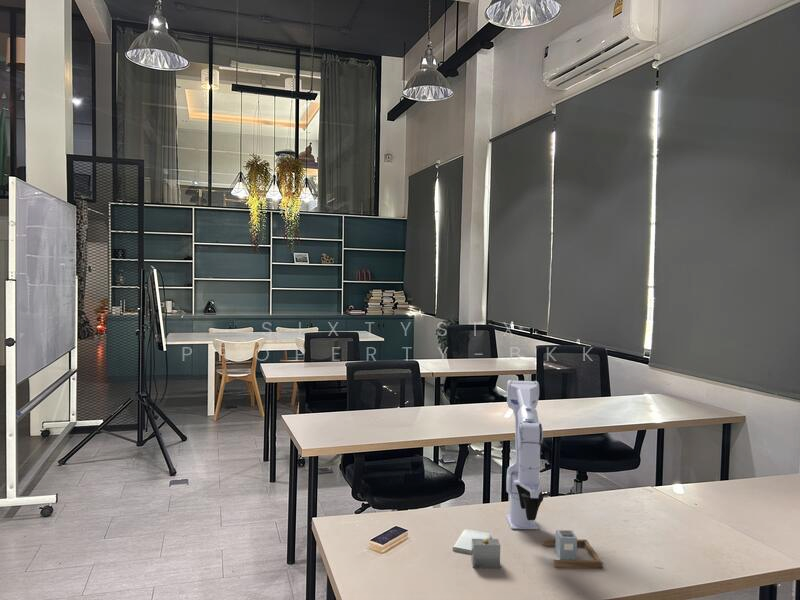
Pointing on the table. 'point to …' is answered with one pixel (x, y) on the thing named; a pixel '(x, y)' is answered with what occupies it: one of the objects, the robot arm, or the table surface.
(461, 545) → the hard drive
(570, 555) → the block
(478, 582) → the table surface
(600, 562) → the bay
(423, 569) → the table surface
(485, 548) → the unit
